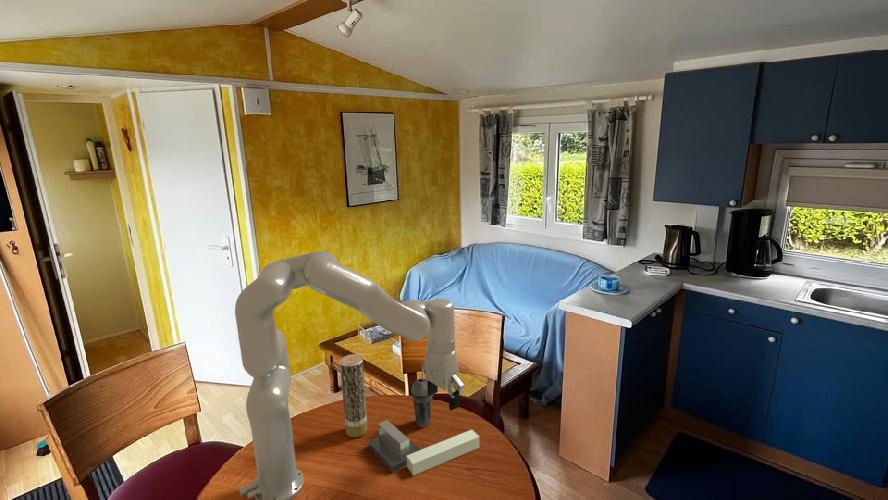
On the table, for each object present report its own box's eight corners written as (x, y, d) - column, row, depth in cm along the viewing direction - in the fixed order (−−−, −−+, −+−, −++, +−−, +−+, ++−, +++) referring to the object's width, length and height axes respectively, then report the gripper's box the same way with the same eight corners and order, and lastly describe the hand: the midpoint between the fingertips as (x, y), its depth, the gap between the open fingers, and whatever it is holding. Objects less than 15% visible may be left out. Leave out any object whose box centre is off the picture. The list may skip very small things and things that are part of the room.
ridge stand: (392, 473, 121) (391, 451, 120) (367, 447, 132) (366, 426, 130) (422, 457, 127) (421, 436, 126) (396, 433, 138) (395, 413, 136)
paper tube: (370, 425, 142) (365, 354, 137) (364, 439, 136) (358, 365, 130) (349, 424, 143) (343, 354, 137) (342, 438, 136) (336, 364, 131)
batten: (413, 476, 120) (412, 464, 119) (406, 468, 123) (406, 455, 123) (479, 448, 131) (479, 436, 130) (472, 440, 134) (471, 429, 133)
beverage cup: (408, 428, 141) (406, 371, 136) (416, 415, 147) (414, 360, 143) (430, 431, 138) (428, 374, 134) (437, 418, 145) (435, 363, 141)
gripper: (411, 338, 124) (414, 393, 127) (450, 360, 110) (452, 420, 114) (433, 331, 128) (435, 384, 132) (473, 351, 115) (474, 409, 119)
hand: (443, 400), depth 123 cm, fingers open, 9 cm apart
